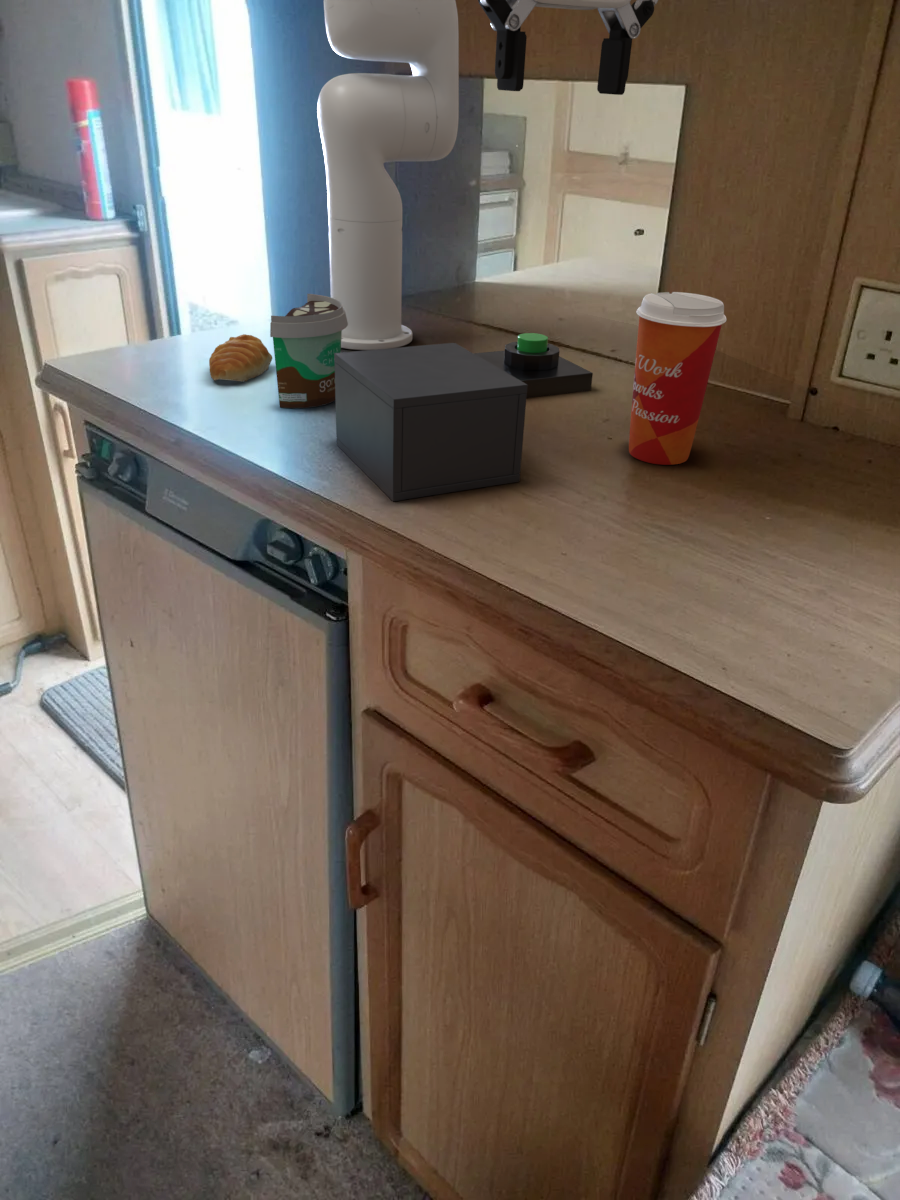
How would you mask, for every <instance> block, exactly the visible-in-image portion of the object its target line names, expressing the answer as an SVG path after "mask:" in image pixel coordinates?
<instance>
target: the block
mask: <svg viewBox="0 0 900 1200" xmlns="http://www.w3.org/2000/svg"><path fill="white" fill-rule="evenodd" d="M517 342H518V341H511V342H509V343H505V344H504V350H495V351H483V352H474V353H473V352H472V353H473V354H475V355H477V356H479V357H480V358H482V359H484V360H485V361H487V362H489V363H491V364H492V365H494V366H496V367H498V368H499V369H501V370H503V371H505V372H506V373H508V374H510V375H512V376H513V377H515V378H517V379H519V380H520V381H522V382H524V383H525V384H527V385H528V387H527V393H526V394H527V397H526V399H532V398H539V397H540V398H541V397H548V396H549V397H550V396H558V395H566V394H575V393H583V392H591V391H592V382H593V377H594V376H593V375H594V373H593V372H592V371H590V370H588V369H586V368H584V367H582V366H580V365H578V364H576V363H574V362H572V361H570V360H567V359H566V358H564V357H562V356H560V347H558V346H556V345H554V344H552V343H548V345H547V352H541V353H529V352H523V351H519V350H517Z"/></svg>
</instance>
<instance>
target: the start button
mask: <svg viewBox="0 0 900 1200" xmlns="http://www.w3.org/2000/svg"><path fill="white" fill-rule="evenodd" d="M516 342H517V350H519V351H523V352H529V353H541V352H547V345H548V344H549V336H547V335H545V334H542V333H536V332H524V333H520V334H518V335H517V341H516Z"/></svg>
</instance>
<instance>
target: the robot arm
mask: <svg viewBox="0 0 900 1200" xmlns="http://www.w3.org/2000/svg"><path fill="white" fill-rule="evenodd" d="M477 1H478V4H479V6H480V7H481V9H482V10H483V12H484V13H485V15H486V16H487V18H488V19H489V22H490V26H491V28H492V30H493V31H495V32H496V40H495V41H496V43H495V57H494V58H495V59H494V60H495V61H494V76H495V78H496V88H497V89H498V91H504V92H505V91H506V92H508V91H509V92H521V90H523V88H524V83H525V82H524V81H525V69H526V55H527V54H526V53H527V34H526V31H522V26H523V23H524V22H525V21H526V19H527V18H528V17H529V15H530V13H531V12H532V11H533V10H534V9H535V7H538V8H550V9H563V10H564V9H565V10H575V11H576V10H579V11H592V10H595V9H597V11H598V13H599V15H600V18H601V20H602V22H603V24H604V26H605V28H606V31H607V32H608V34H609V35H608V37H606V38H605V37H603V39H602V42H601V48H600V57H599V65H598V66H599V67H598V77H597V86H596V90H597V92H598V93H599V94H602V95H617V96H622V95H624V94H625V91H626V85H627V81H628V78H629V71H630V63H631V54H632V46H633V39H637V38H638V37H639V36H640V33H641V29H642V28H643V26H645V25H646V23H647V22H648V21H649V20H650V19H651V17H652V16H653V14H654V13H655V6H656V5H657V3H658V1H659V0H636V1H634V2H633V3H632V4H631V1H632V0H477ZM323 12H324V13H323V14H324V24H325V32H326V36H327V41H328V43H329V45H330V47H331V49H332V51H334V52H335V53H336V54H337V55H339V56H341V57H343V58H346V59H351V60H358V61H369V62H387V63H404V64H405V63H406V64H409V66H410V68H411V72H412V75H409V74H408V75H406V74H405V75H404V74H391V73H371V72H370V73H369V72H352V73H345V74H344V73H343V74H340V75H337V76H334V77H332V78H331V79H329V80H328V81H327V82H325V84H324V85H323V86H322V88H321V90H320V92H319V93H318V94H319V95H318V99H317V106H316V110H317V111H316V113H317V115H316V116H317V123H318V124H317V125H318V129H319V134H320V140H321V144H322V145H321V147H322V152H323V158H324V159H323V160H324V166H325V177H326V178H325V179H326V190H327V191H326V193H327V195H326V196H327V216H328V247H329V249H328V250H329V284H330V288H329V289H330V297H331V298H334V299H336V300H338V301H340V302H341V303H342V307H343V308H344V310H345V313H346V318H347V322H348V326H347V327H346V328H345V329H343V330H342V335H341V349H345V350H353V351H365V350H376V349H388V348H399V347H406V346H407V345H409V344H410V343H411V342H412V341H413V331H412V329H411V328H410V327H407V325H403V324H402V305H403V304H402V301H403V300H402V299H403V298H402V296H403V295H402V293H403V292H402V291H403V287H402V286H403V201H402V197H401V193H400V191H399V189H398V187H397V185H396V183H395V182H394V180H393V179H392V178H391V176H390V174H389V173H388V171H387V170H386V168H385V163H393V162H436V161H440V160H442V159H445V158H447V156H448V155H449V154H450V153H452V150H453V149H454V146H455V144H456V141H457V136H458V130H459V120H460V119H459V116H460V115H459V114H460V111H459V110H460V90H459V89H460V88H459V87H460V85H459V84H460V82H459V80H460V78H459V77H460V76H459V75H460V71H459V68H460V65H459V63H460V59H459V57H460V50H459V49H460V48H459V46H460V45H459V43H460V42H459V41H460V38H459V36H460V35H459V33H460V32H459V14H458V6H457V2H456V0H323Z"/></svg>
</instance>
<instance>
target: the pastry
mask: <svg viewBox="0 0 900 1200" xmlns="http://www.w3.org/2000/svg"><path fill="white" fill-rule="evenodd" d="M272 361H273V355H272V354H271V353H270V351H269V350H268V348H267V346H265V344H264V343H263V341H262V339H260V338H258V337H256V336H254V335H251V334H244V333H243V334H240V335H237V336H230V337H229V339H228V340H226V341H225V342H224V343H221V344H218V345H217V346H216V347H215V349H214V350H213V351H212V353H211V355H210V357H209V360H208V365H209V375H210V377H211V379H212V380H213V381H214V382H215V381H218V380H225V381H235V382H241V383H243V382H249V381H248V380H251V379H255V378H257V377H259V376H261V375H263V374H264V373H265V371H266V372H267V371H268V370H269V367H270V365H271V363H272Z"/></svg>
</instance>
